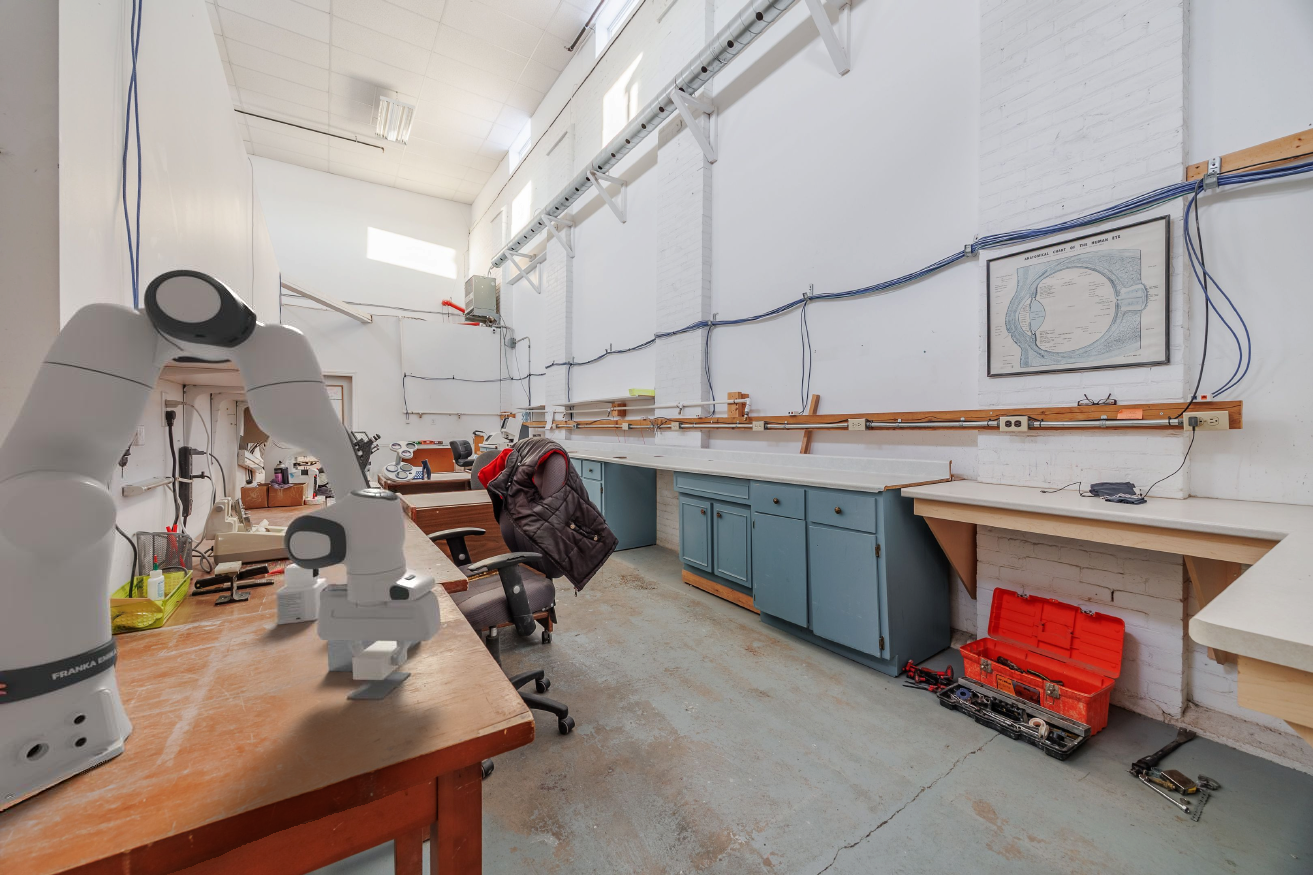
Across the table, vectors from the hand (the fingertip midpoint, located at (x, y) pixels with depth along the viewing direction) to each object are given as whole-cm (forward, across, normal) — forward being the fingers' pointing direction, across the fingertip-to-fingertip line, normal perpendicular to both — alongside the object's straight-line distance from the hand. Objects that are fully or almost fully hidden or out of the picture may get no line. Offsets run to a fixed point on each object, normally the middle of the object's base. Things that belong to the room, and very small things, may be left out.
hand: (380, 663), depth 83 cm
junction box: (+4, -8, +11) cm, 14 cm away
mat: (+4, 0, 0) cm, 4 cm away
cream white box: (+1, 0, 0) cm, 1 cm away
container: (+4, -39, +29) cm, 48 cm away
